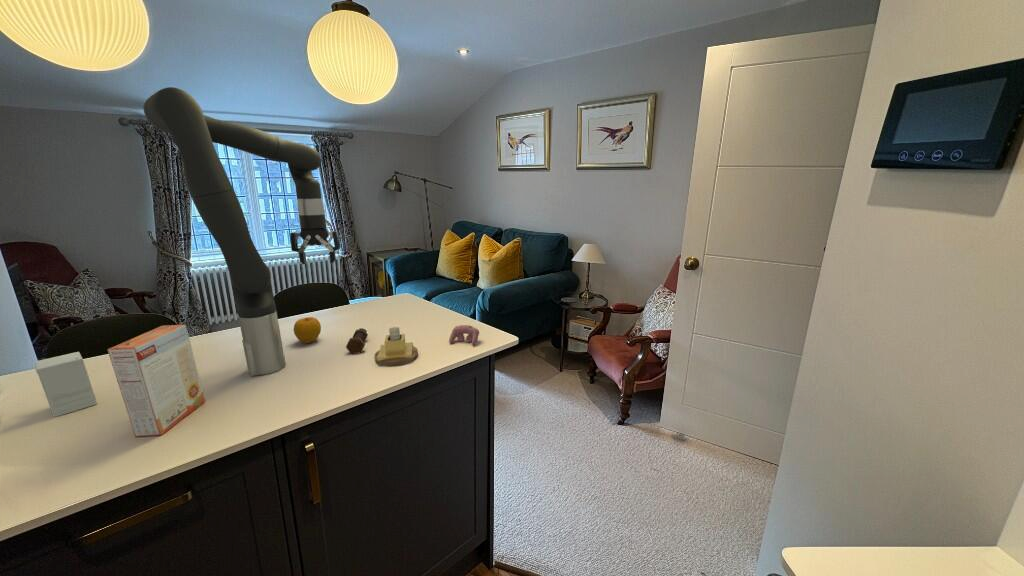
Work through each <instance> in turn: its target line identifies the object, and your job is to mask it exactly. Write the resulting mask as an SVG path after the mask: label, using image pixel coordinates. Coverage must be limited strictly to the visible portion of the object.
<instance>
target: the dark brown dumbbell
mask: <svg viewBox="0 0 1024 576" xmlns="http://www.w3.org/2000/svg"><path fill="white" fill-rule="evenodd" d="M352 335H353V336H352V337H350V338H349V340H348V341H347V344H346V345H345V348H346V350H347V351H348V352H349V353H350V354H351V355H353V354H360V353H362V352H363V350H364V348H365V346H366V343H365V342H366V340H367V337H369V334H368V331H367V330H366V328H358V329H355V332H354V333H353V334H352Z"/></svg>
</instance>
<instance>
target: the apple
mask: <svg viewBox="0 0 1024 576" xmlns="http://www.w3.org/2000/svg"><path fill="white" fill-rule="evenodd" d="M321 330H322V325H321V322H320V321H319V320H318V319H317V318H316V317H313V316H308V317H303V318H299V319H297V320H296V321H295V323H294V326H293V333H294V336H295V338H296V339H297V340H298V341H299V342H300V343H301V344H309V343H313V342H316V341H317V339H318V338H319V335H320V334H321Z"/></svg>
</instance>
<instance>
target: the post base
mask: <svg viewBox="0 0 1024 576" xmlns="http://www.w3.org/2000/svg"><path fill="white" fill-rule="evenodd" d="M388 331H389V332H388V333H389V335H390V340H400V334H401V332H400V327H398V326H393V327H390V328H389V329H388ZM379 351H380V349H378V350H377V351H376V352H375V354H374V361H375V363H376V364H378V365H380V366H385V367H398V366H402V365H403V366H404V365H406V364H409V363H412V362H414V361H415V360H416V359H417V358H418V357H419V353H418V352H419V351H418V348H417V347H416V346H414V345H413V351H412V358H403V359H392V360H381V361H378V360H377V357H378V354H379Z"/></svg>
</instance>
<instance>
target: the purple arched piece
mask: <svg viewBox="0 0 1024 576" xmlns="http://www.w3.org/2000/svg"><path fill="white" fill-rule="evenodd" d="M464 334H465V335H466V334H467V336H466V337H465V335H464ZM479 336H480V331H479V329H478V328H476V327H475V326H472V325H469V324H462V325H460V324H459V325H456V326H455V327H454V328H453V329H452V331H451V333H450V335H449V339H448V342H449V343H448V344H450V345H451V344H453V343H454V341H455V340H456V339H457V341H459V342H464V341H466V342H468V343H471V345H472V346H473V347H475V346H476V345H477V343H478V340H479Z"/></svg>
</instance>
